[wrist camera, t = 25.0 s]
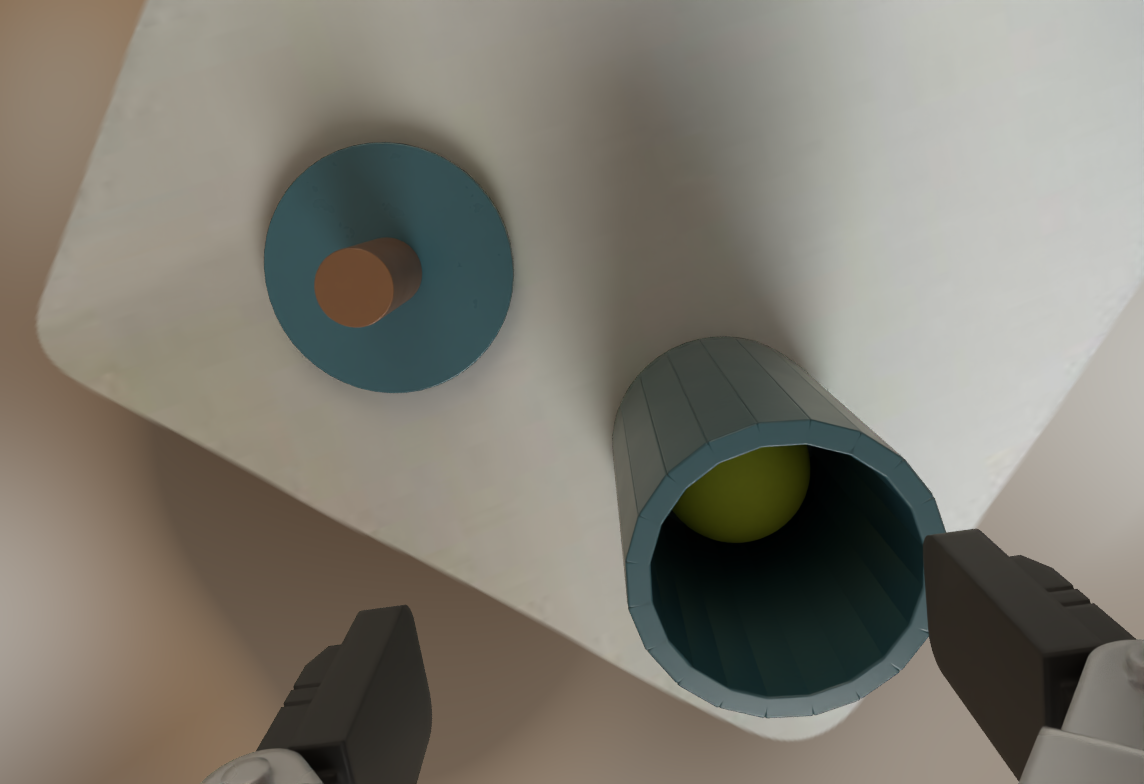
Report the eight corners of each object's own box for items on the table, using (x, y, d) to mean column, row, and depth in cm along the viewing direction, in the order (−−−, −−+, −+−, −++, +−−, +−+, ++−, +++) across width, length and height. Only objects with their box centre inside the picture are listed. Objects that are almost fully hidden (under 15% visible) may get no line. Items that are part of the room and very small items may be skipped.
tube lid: (344, 93, 39) (291, 74, 32) (561, 229, 40) (555, 240, 33) (230, 308, 41) (158, 334, 34) (438, 431, 42) (409, 480, 35)
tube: (689, 294, 40) (745, 358, 26) (869, 408, 42) (1016, 528, 27) (572, 473, 42) (565, 621, 28) (746, 576, 44) (824, 769, 29)
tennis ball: (703, 351, 40) (724, 385, 34) (819, 423, 41) (861, 470, 35) (626, 465, 42) (634, 518, 36) (739, 532, 42) (766, 596, 36)
